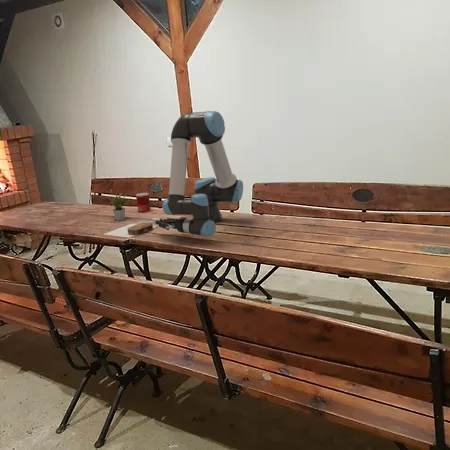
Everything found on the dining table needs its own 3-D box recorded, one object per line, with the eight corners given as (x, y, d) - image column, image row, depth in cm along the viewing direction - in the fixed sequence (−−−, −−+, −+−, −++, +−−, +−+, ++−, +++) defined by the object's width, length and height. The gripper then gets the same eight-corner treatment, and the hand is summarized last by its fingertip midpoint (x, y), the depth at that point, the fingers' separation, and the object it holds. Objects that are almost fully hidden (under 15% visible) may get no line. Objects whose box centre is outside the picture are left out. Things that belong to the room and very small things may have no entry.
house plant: (115, 224, 261) (111, 196, 257) (102, 221, 271) (98, 194, 266) (135, 218, 271) (132, 191, 267) (122, 215, 280) (118, 189, 276)
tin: (134, 231, 232) (123, 228, 237) (135, 236, 233) (124, 233, 238) (156, 223, 243) (145, 220, 248) (156, 229, 244) (145, 226, 249)
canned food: (150, 211, 285) (148, 194, 282) (137, 213, 284) (135, 195, 281) (151, 209, 292) (149, 192, 289) (138, 210, 292) (136, 193, 289)
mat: (157, 226, 248) (157, 226, 248) (129, 238, 230) (128, 237, 230) (132, 224, 258) (132, 223, 258) (103, 235, 241) (102, 234, 241)
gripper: (178, 236, 215) (144, 231, 229) (196, 229, 224) (163, 224, 239) (176, 221, 213) (142, 216, 227) (195, 214, 222) (161, 210, 237)
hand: (153, 220), depth 233 cm, fingers closed
